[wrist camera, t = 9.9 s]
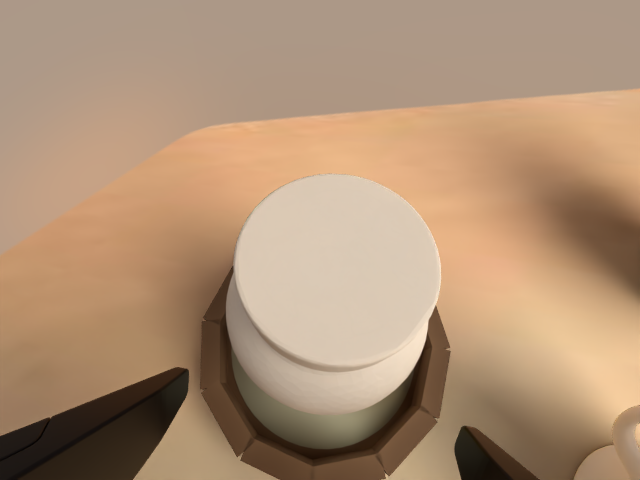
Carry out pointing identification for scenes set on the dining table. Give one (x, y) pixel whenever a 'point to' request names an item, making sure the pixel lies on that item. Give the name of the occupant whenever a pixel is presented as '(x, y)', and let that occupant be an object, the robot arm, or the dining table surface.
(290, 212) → the supplement bottle
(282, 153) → the dining table surface
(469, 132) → the dining table surface
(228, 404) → the faceted wooden bowl
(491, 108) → the dining table surface
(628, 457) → the mug
